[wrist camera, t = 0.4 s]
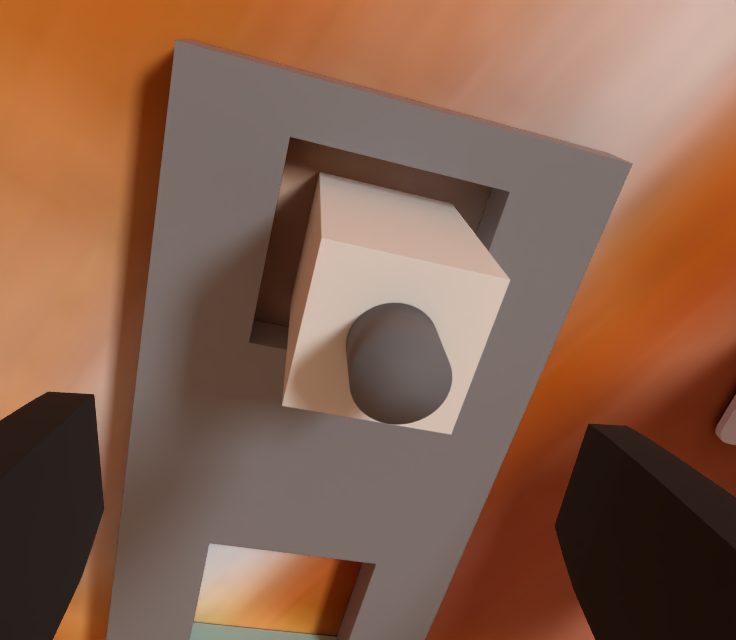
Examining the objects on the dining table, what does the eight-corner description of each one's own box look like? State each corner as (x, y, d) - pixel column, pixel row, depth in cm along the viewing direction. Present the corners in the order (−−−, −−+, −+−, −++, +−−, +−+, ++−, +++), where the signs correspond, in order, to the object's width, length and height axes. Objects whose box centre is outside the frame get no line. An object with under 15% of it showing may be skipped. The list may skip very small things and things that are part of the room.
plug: (451, 203, 18) (533, 310, 11) (413, 322, 20) (465, 477, 13) (319, 171, 17) (322, 265, 11) (291, 297, 19) (278, 447, 12)
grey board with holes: (608, 153, 18) (632, 163, 16) (394, 666, 27) (399, 699, 26) (187, 38, 15) (175, 40, 14) (113, 639, 25) (102, 674, 23)
